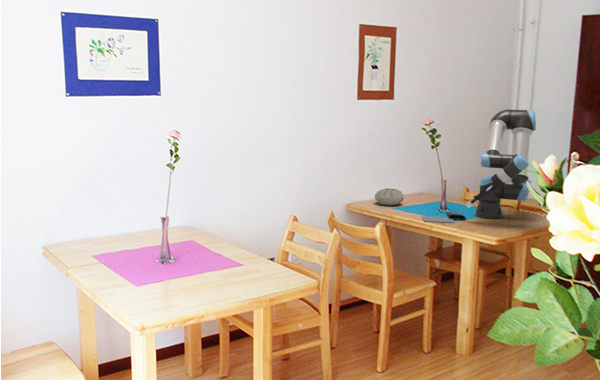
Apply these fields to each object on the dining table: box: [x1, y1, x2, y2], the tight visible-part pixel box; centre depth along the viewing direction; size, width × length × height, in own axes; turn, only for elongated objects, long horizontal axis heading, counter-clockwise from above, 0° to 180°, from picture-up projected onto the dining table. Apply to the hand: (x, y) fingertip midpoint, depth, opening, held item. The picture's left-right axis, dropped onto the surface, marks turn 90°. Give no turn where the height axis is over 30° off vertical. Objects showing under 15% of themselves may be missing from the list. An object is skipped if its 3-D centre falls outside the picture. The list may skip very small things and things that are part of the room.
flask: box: [446, 211, 467, 221], centre depth 326 cm, size 9×3×11 cm
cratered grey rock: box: [374, 188, 405, 206], centre depth 362 cm, size 18×18×10 cm
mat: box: [422, 215, 455, 224], centre depth 320 cm, size 16×13×1 cm
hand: (467, 206), depth 316 cm, fingers closed
